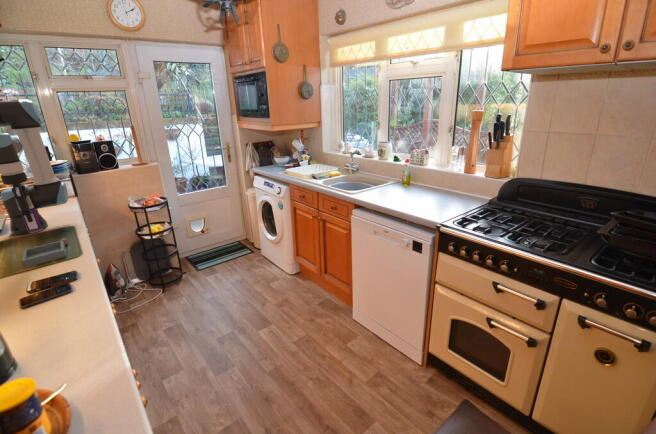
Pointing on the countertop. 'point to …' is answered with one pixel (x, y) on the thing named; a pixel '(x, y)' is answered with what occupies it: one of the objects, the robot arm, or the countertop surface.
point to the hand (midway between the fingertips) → (34, 226)
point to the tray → (43, 253)
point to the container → (33, 215)
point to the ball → (64, 240)
